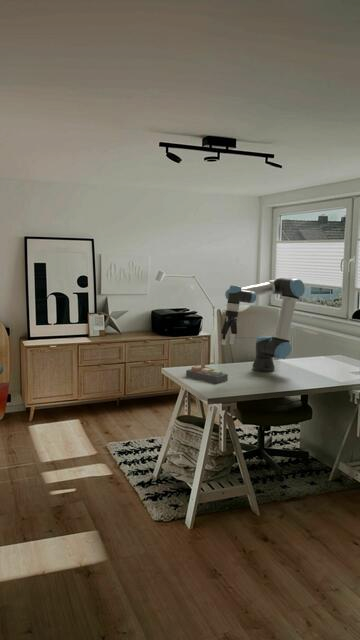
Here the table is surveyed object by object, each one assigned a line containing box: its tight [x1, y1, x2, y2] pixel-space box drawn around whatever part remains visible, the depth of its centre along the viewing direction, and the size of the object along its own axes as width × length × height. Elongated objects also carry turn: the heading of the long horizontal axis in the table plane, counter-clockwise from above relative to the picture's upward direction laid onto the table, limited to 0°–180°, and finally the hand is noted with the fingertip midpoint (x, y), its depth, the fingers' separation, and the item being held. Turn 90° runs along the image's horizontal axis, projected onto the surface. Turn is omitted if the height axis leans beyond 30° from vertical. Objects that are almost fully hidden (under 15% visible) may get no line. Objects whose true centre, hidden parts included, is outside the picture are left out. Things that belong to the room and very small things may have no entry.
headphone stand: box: [200, 337, 215, 371], centre depth 355 cm, size 10×11×22 cm
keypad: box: [185, 368, 229, 384], centre depth 335 cm, size 25×11×4 cm, turn 48°
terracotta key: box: [191, 365, 203, 372], centre depth 340 cm, size 5×5×3 cm
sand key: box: [201, 367, 213, 374], centre depth 335 cm, size 5×5×3 cm
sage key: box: [211, 369, 223, 376], centre depth 329 cm, size 5×5×3 cm
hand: (227, 344), depth 327 cm, fingers open, 13 cm apart
